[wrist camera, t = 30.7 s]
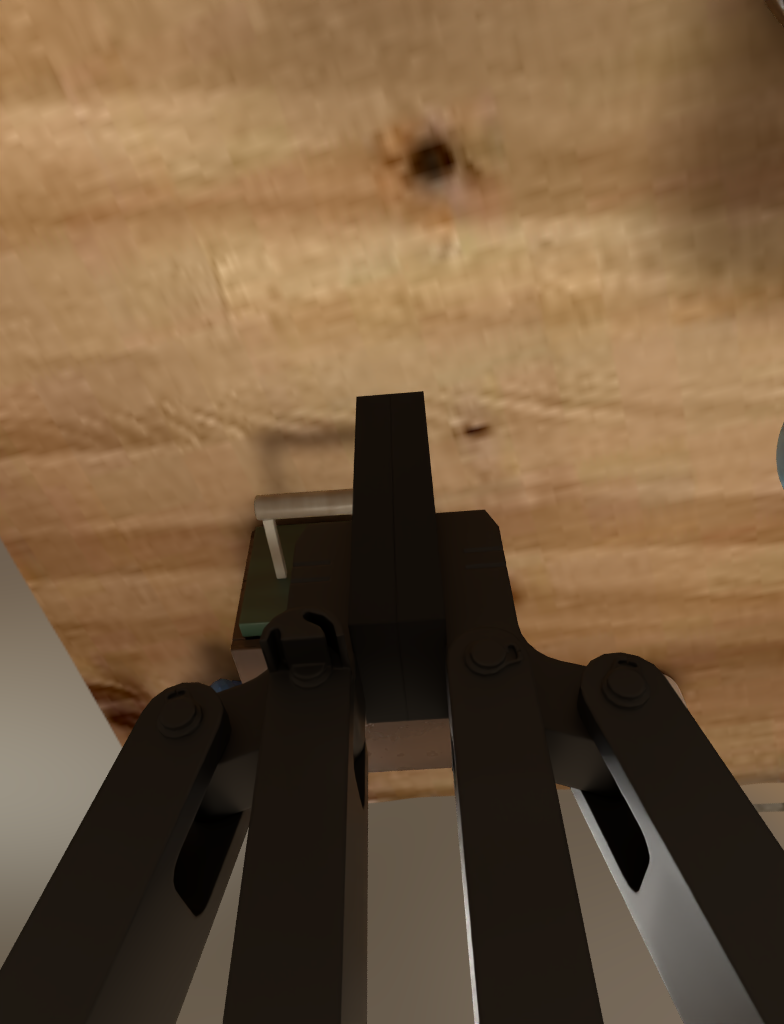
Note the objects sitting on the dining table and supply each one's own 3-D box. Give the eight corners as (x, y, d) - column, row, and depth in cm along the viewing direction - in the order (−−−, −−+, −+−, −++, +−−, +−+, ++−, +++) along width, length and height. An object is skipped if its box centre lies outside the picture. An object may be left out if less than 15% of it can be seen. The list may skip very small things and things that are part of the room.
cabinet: (251, 531, 48) (229, 650, 40) (436, 518, 47) (449, 637, 40) (286, 661, 57) (274, 778, 50) (440, 652, 57) (451, 768, 49)
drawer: (235, 450, 42) (212, 546, 36) (424, 437, 42) (435, 531, 36) (288, 653, 55) (278, 749, 49) (433, 643, 55) (441, 739, 49)
